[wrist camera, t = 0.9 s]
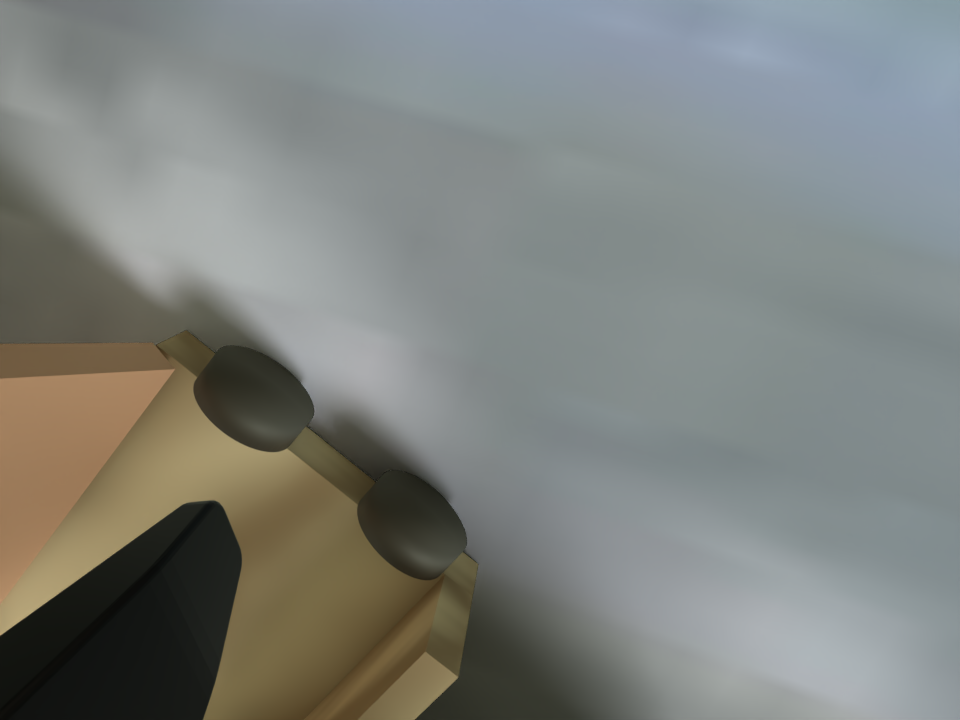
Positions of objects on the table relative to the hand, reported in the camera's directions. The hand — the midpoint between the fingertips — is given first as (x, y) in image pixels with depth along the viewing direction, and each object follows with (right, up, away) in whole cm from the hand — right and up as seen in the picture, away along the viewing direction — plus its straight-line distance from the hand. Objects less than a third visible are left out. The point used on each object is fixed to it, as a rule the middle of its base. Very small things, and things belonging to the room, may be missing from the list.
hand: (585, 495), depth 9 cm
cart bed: (-11, -7, +19) cm, 23 cm away
